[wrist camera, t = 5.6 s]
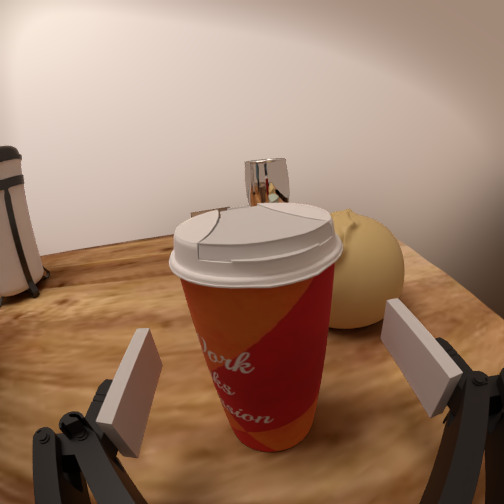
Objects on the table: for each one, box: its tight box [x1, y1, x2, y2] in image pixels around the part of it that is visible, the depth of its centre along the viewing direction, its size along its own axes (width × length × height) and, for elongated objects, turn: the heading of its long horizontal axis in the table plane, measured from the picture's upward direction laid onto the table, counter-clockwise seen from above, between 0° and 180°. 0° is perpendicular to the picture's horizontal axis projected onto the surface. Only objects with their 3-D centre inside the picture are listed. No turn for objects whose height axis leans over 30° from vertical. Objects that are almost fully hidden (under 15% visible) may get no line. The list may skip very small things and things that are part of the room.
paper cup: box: [169, 203, 343, 452], centre depth 15 cm, size 8×8×14 cm
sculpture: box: [329, 209, 404, 329], centre depth 27 cm, size 12×12×11 cm
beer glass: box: [245, 158, 289, 207], centre depth 46 cm, size 7×7×15 cm
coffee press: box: [0, 146, 50, 307], centre depth 36 cm, size 17×16×30 cm
